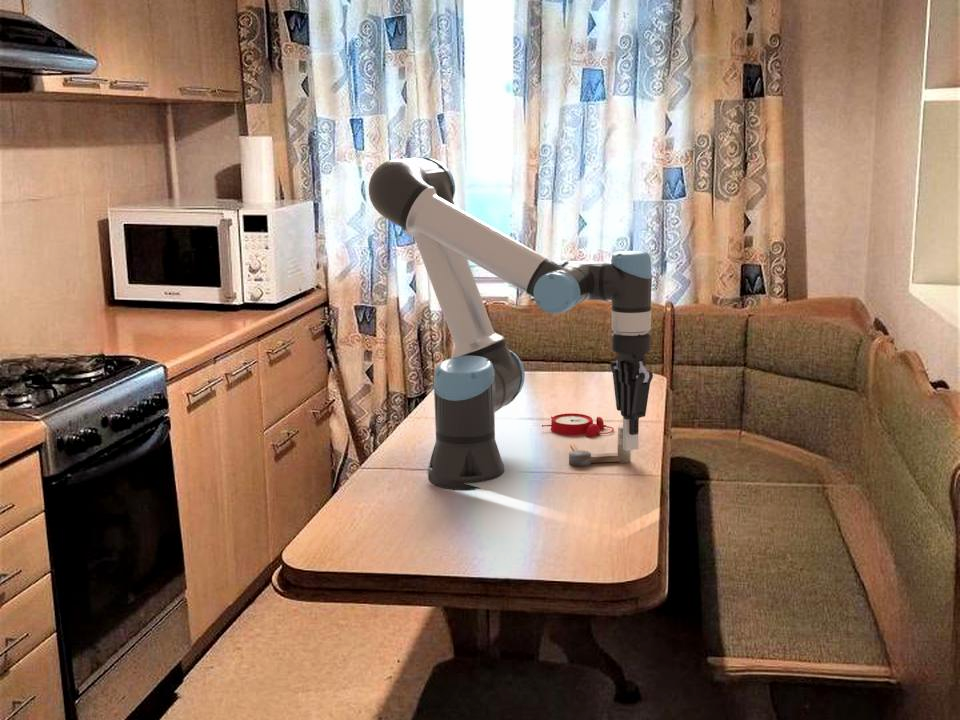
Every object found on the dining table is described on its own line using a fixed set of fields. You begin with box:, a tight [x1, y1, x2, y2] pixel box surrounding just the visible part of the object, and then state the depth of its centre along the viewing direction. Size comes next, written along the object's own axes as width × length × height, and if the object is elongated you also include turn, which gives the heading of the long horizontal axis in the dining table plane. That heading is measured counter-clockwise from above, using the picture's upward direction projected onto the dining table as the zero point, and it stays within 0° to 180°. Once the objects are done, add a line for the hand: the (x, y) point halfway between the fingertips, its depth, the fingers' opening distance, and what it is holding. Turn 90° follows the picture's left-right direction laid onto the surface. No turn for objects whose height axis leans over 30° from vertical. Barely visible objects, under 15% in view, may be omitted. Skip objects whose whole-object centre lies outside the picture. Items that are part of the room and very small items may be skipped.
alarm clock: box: [541, 412, 614, 438], centre depth 228 cm, size 10×6×15 cm
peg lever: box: [568, 425, 632, 468], centre depth 208 cm, size 12×10×7 cm
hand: (630, 448), depth 202 cm, fingers closed
